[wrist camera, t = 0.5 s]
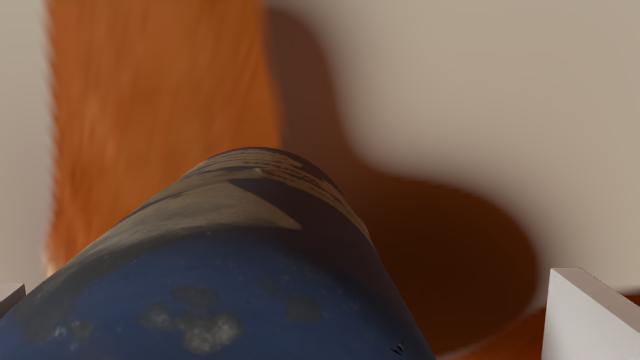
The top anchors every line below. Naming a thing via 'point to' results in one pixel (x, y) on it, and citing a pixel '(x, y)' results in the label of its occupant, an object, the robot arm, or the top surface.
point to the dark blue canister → (224, 277)
